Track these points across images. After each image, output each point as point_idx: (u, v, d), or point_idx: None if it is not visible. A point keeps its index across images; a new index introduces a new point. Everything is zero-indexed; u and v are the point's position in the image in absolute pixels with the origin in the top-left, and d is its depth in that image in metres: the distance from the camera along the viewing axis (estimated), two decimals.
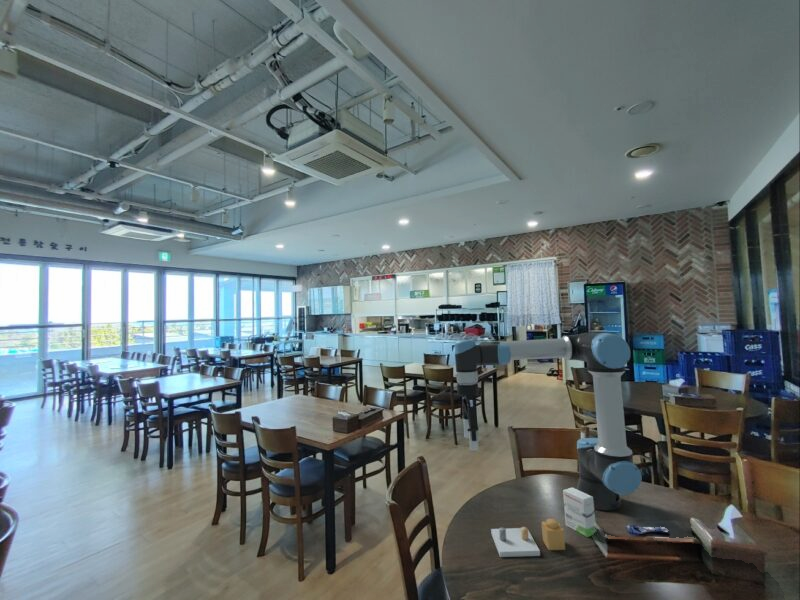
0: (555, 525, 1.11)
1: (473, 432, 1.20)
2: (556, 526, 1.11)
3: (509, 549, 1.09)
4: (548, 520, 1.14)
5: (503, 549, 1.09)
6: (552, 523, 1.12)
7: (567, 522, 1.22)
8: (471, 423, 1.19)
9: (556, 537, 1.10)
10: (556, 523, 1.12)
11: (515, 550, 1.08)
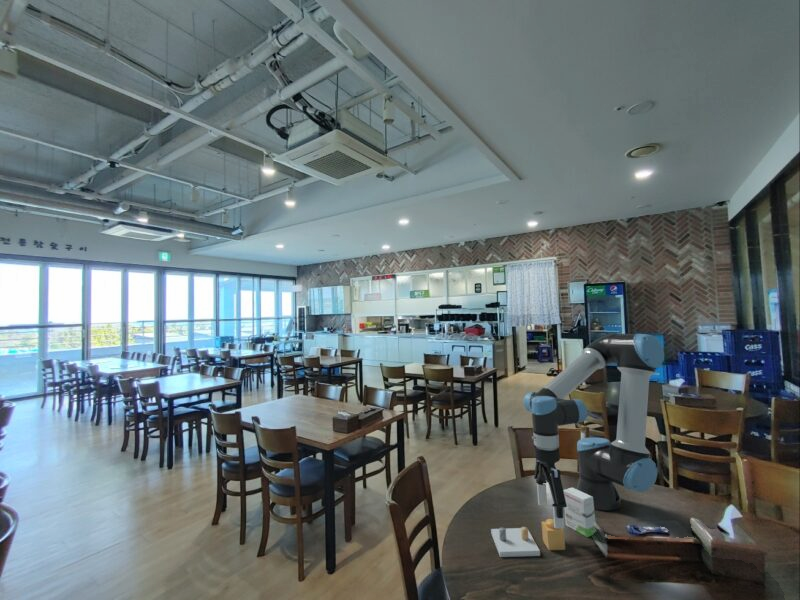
0: None
1: (559, 508, 1.05)
2: None
3: (509, 549, 1.09)
4: (548, 520, 1.14)
5: (503, 549, 1.09)
6: (552, 523, 1.12)
7: (567, 522, 1.22)
8: (558, 498, 1.04)
9: (556, 537, 1.10)
10: None
11: (515, 550, 1.08)
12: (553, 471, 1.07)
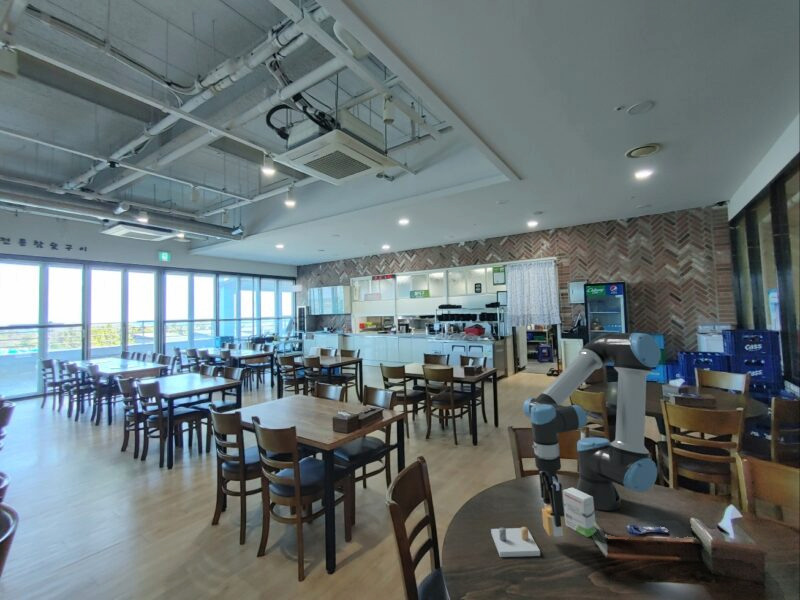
0: None
1: (557, 517, 1.09)
2: None
3: (509, 549, 1.09)
4: (549, 507, 1.14)
5: (503, 549, 1.09)
6: None
7: (567, 522, 1.22)
8: (556, 509, 1.07)
9: None
10: None
11: (515, 550, 1.08)
12: (555, 486, 1.07)
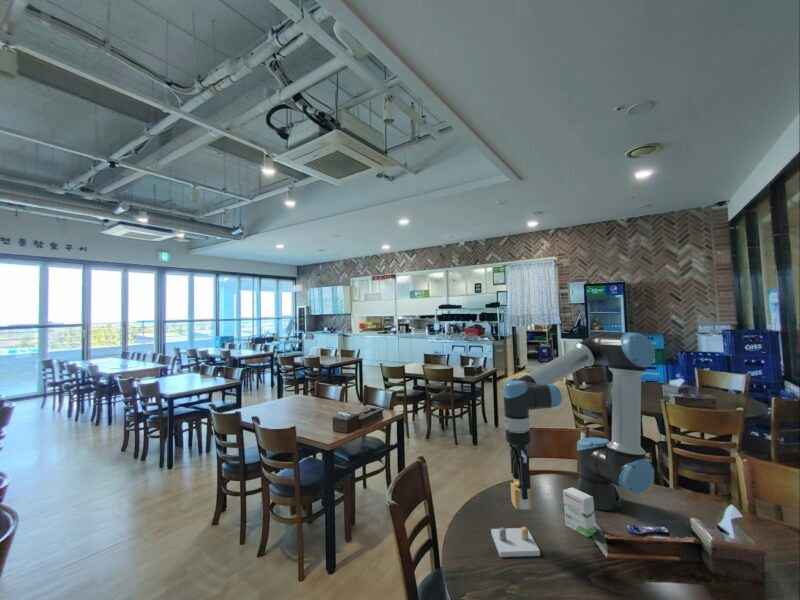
0: None
1: (524, 490, 1.10)
2: None
3: (509, 549, 1.09)
4: (517, 481, 1.16)
5: (503, 549, 1.09)
6: None
7: (567, 522, 1.22)
8: (523, 482, 1.09)
9: None
10: None
11: (515, 550, 1.08)
12: (522, 458, 1.09)
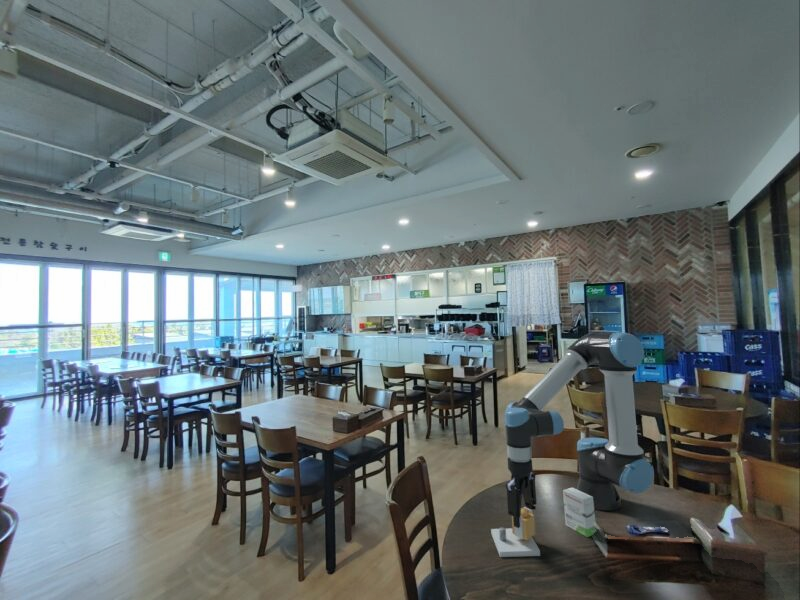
0: None
1: (514, 517, 1.12)
2: (521, 515, 1.13)
3: (509, 549, 1.09)
4: (521, 509, 1.15)
5: (503, 549, 1.09)
6: None
7: (567, 522, 1.22)
8: (509, 508, 1.11)
9: None
10: (522, 513, 1.13)
11: (515, 550, 1.08)
12: (507, 485, 1.11)
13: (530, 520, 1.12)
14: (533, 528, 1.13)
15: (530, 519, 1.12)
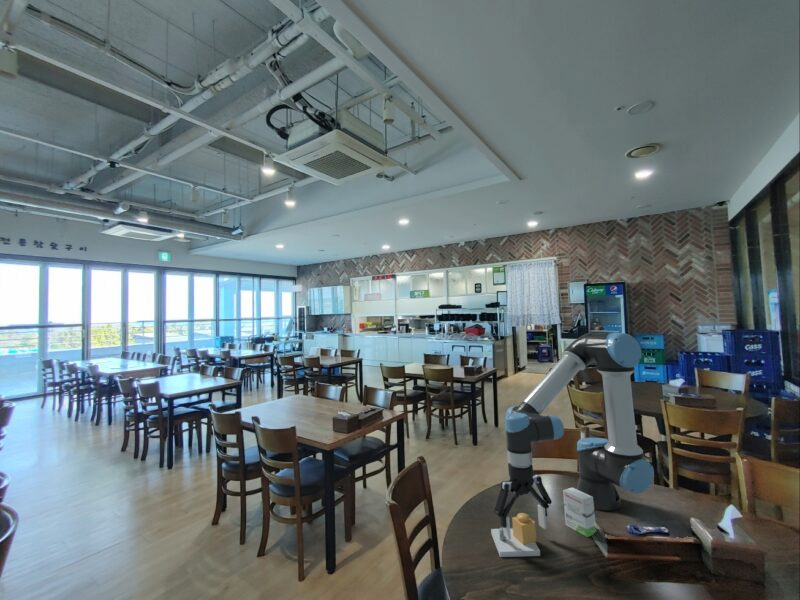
0: (519, 518, 1.13)
1: (501, 517, 1.12)
2: (520, 519, 1.13)
3: (509, 549, 1.09)
4: (523, 514, 1.15)
5: (503, 549, 1.09)
6: (520, 516, 1.14)
7: (567, 522, 1.22)
8: (496, 506, 1.12)
9: (517, 528, 1.13)
10: (521, 518, 1.13)
11: (515, 550, 1.08)
12: (502, 482, 1.13)
13: (529, 526, 1.12)
14: (533, 535, 1.12)
15: (529, 525, 1.12)
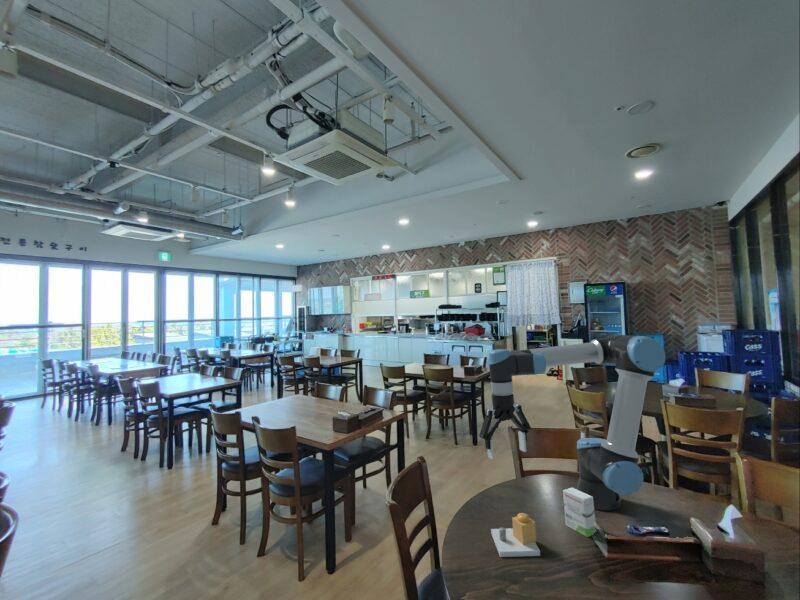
0: (519, 518, 1.13)
1: (485, 440, 1.24)
2: (520, 519, 1.13)
3: (509, 549, 1.09)
4: (523, 514, 1.15)
5: (503, 549, 1.09)
6: (520, 516, 1.14)
7: (567, 522, 1.22)
8: (481, 430, 1.24)
9: (517, 528, 1.13)
10: (521, 518, 1.13)
11: (515, 550, 1.08)
12: (486, 410, 1.25)
13: (529, 526, 1.12)
14: (533, 535, 1.12)
15: (529, 525, 1.12)
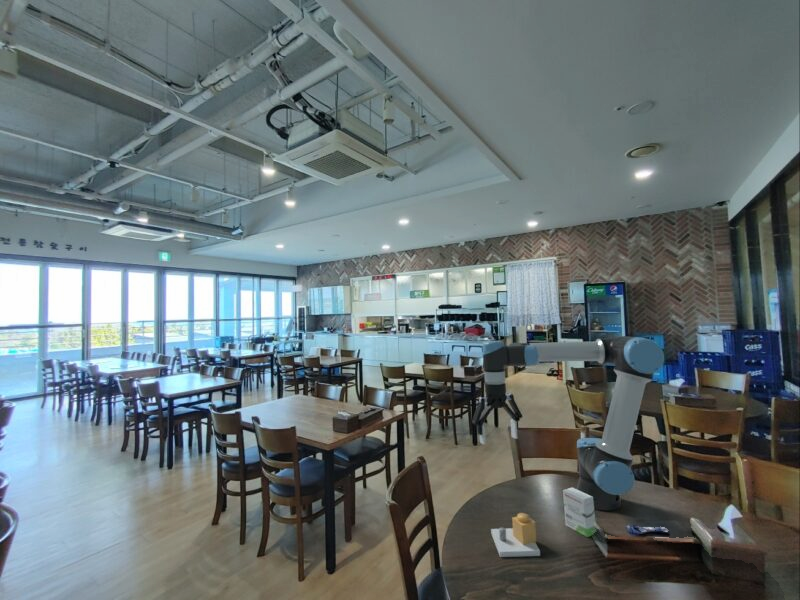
0: (519, 518, 1.13)
1: (477, 426, 1.30)
2: (520, 519, 1.13)
3: (509, 549, 1.09)
4: (523, 514, 1.15)
5: (503, 549, 1.09)
6: (520, 516, 1.14)
7: (567, 522, 1.22)
8: (473, 417, 1.31)
9: (517, 528, 1.13)
10: (521, 518, 1.13)
11: (515, 550, 1.08)
12: (479, 398, 1.32)
13: (529, 526, 1.12)
14: (533, 535, 1.12)
15: (529, 525, 1.12)
